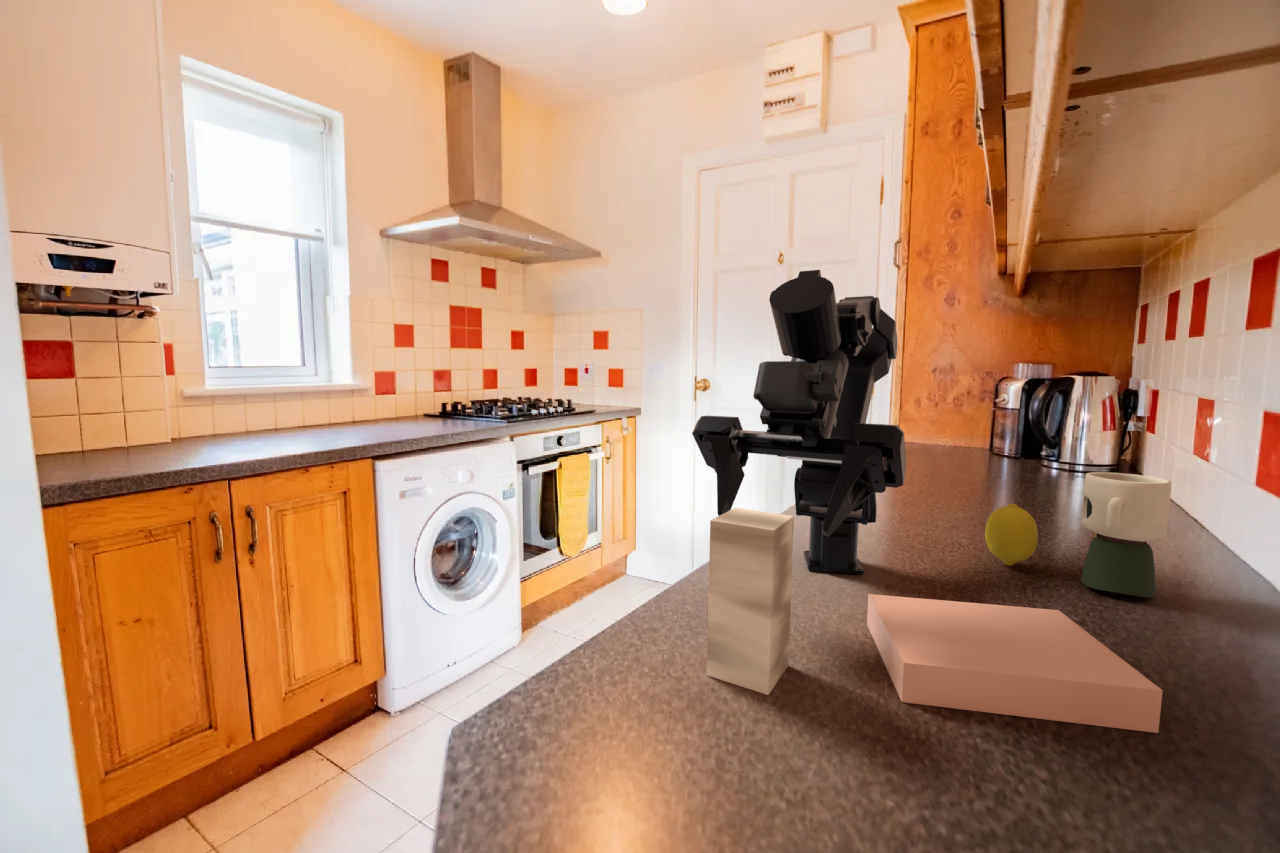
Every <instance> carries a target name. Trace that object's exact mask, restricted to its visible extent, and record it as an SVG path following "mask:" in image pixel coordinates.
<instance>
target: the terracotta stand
mask: <svg viewBox="0 0 1280 853" xmlns="http://www.w3.org/2000/svg"><path fill="white" fill-rule="evenodd" d="M867 596H868V597H867V618H866V619H867V620H866V626H867V628H868V630H869V632H870V635H871V637H872V639H873V641H874V643H875V646H876V647H877V650H878V653H879V655H880V657H881V659H882V661H883V664H884V666H885V668H886V671H887V673H888V675H889V678H890V680H891V682H892V683H893V686H894V688H895V690H896V692H897V695H898V697H899V699H900V701H901V703H907V704H915V705H924V706H931V707H940V708H949V709H956V710H966V711H972V712H981V713H990V714H996V715H1007V716H1012V717H1013V716H1016V717H1022V718H1029V719H1030V718H1031V719H1032V718H1033V719H1039V720H1046V721H1047V720H1048V721H1054V722H1055V721H1056V722H1065V723H1071V724H1072V723H1074V724H1081V725H1090V726H1098V727H1105V728H1115V729H1123V730H1130V731H1138V732H1139V731H1140V732H1148V733H1156V734H1159V732H1160V731H1159V730H1160V718H1161V708H1162V701H1163V700H1162V699H1163V691H1164V690H1163V689H1161V687H1159V686H1158V685H1156V684H1155V683H1153V682H1152V681H1151V680H1150V679H1148V678H1147V677H1146V676H1145V675H1143V674H1142V673H1141V672H1139V671H1138V670H1137V669H1135V667H1133V666H1131V665H1130V664H1129V663H1128V662H1127V661H1125V660H1124V659H1122V657H1120V656H1119V655H1117V654H1116V653H1115V652H1113V651H1112V650H1111V649H1110V648H1108V647H1107V646H1106V645H1104V644H1103V643H1102V642H1101V641H1099V640H1098V639H1096V638H1095V637H1094V636H1093V635H1092V634H1091V633H1089V632H1087V631H1086V630H1085V629H1083V627H1081V626H1080V625H1078V624H1077V623H1076V622H1074V621H1073V620H1072V619H1071V618H1070V617H1068V616H1067V615H1065V614H1064V613H1063V612H1061V610H1059V609H1049V608H1038V607H1037V608H1036V607H1027V606H1025V607H1024V606H1015V605H1014V606H1013V605H1002V604H992V603H977V602H966V601H955V600H943V599H931V598H919V597H918V598H917V597H908V596H907V597H906V596H896V595H886V594H885V595H884V594H873V593H868V595H867Z"/></svg>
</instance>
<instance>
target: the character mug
mask: <svg viewBox="0 0 1280 853" xmlns="http://www.w3.org/2000/svg"><path fill="white" fill-rule="evenodd" d="M1083 490H1084V491H1083V503H1082V510H1081V511H1082V512H1081V525H1082V527H1083V528H1084V529H1085V530H1088V531H1090V532H1092V533H1094V537H1093V538H1092V539H1091V541H1090V543H1089V545H1088V550H1087V552H1086V553H1087V554H1086V556H1085V560H1084V563H1083V568H1082V573H1081V578H1080V581H1081V582H1082V584H1083V585H1084V586H1087V587H1089V588H1091V589H1094V590H1097V591H1098V590H1099V591H1105V592H1110V595H1111V596H1118V594H1123V595H1128V596H1132V597H1133V596H1134V597H1141V598H1153V597H1154V596H1155V595H1156V591H1157V589H1156V588H1157V587H1156V570H1155V560H1154V558H1155V556H1154V551H1153V548H1152V547H1151V545H1150V544H1149V543H1151V542H1152V543H1153V542H1160V541H1165V540H1166V538H1167V534H1168V523H1169V513H1170V504H1171V496H1172V495H1171V494H1172V493H1171V492H1172V482H1171V481H1170V480H1167V479H1165V478H1161V477H1160V478H1159V477H1156V476H1155V477H1154V476H1150V475H1144V474H1143V475H1141V474H1136V473H1135V474H1133V473H1121V472H1105V471H1104V472H1100V471H1099V472H1097V471H1095V472H1087V473H1085V477H1084V488H1083ZM1148 542H1149V543H1148Z"/></svg>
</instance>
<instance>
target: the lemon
mask: <svg viewBox="0 0 1280 853" xmlns="http://www.w3.org/2000/svg"><path fill="white" fill-rule="evenodd" d="M984 538H985V539H984V540H985V543H986V545H987V548H988V549H989V551H990V552H991V553H992V554H993V556H995V557H996V558H998V559H1000V560H1001V561H1002V562H1003V563H1004V564H1005V565H1006V566H1008V567H1010V566H1013V565H1015V564H1016V563H1020V562H1023V561H1025V560H1027V559H1029V558H1030V557H1031V556H1032V555H1033V554H1034V553H1035V551H1036V549H1037V546H1038V543H1039V534H1038V527H1037V524H1036V521H1035V519H1034V517H1033V516H1032V515H1031V514H1030V513H1029V512H1028V511H1027V510H1025V509H1024V508H1021V507H1020V506H1018V504H1016V503H1009V504H1008V505H1006V506H1004V505H1003V506H1002V507H1001V506H1000V507H999V508H997V509H994V511H993V512H992V513H991V514H990V515H989V517H988V519H987V521H986V526H985V530H984Z"/></svg>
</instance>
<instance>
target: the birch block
mask: <svg viewBox="0 0 1280 853" xmlns="http://www.w3.org/2000/svg"><path fill="white" fill-rule="evenodd" d="M794 521H795V515H788V514H782V513H775V512H769V511H761V510H754V509H748V508H746V509H745V508H740V507H733V508H731V510H730V511H728V512H726V513H724V514H722V515H720V516H716V517H715V518H712V519H710V521H709V522H710V523H709V524H710V527H709V529H710V530H709V563H708V564H709V565H708V566H709V572H708V573H709V574H708V612H707V613H708V614H707V617H708V618H707V651H706V652H707V653H706V654H707V655H706V659H707V660H706V676H707V677H711V678H714V679H717V680H720V681H723V682H725V683H729V684H733V685H736V686H738V687H742V688H745V689H748V690H751V691H754V692H757V693H761V694H763V695H766V696H767V695H768V696H769V695H770V693H771V692H772V691H773V689H774V687H775V686H776V685H777V683H778V682H779V680H780V679H781V678H782V676H783V674H784V673H785V672H786V670H787V668H788V667H789V663H790V662H789V661H790V660H789V658H790V637H791V636H790V635H791V634H790V632H791V607H792V606H791V605H792V604H791V602H792V582H793V581H792V580H793V579H792V578H793V576H792V575H793V555H794V554H793V553H794V551H793V549H794V525H795V524H794V523H795V522H794Z"/></svg>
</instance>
